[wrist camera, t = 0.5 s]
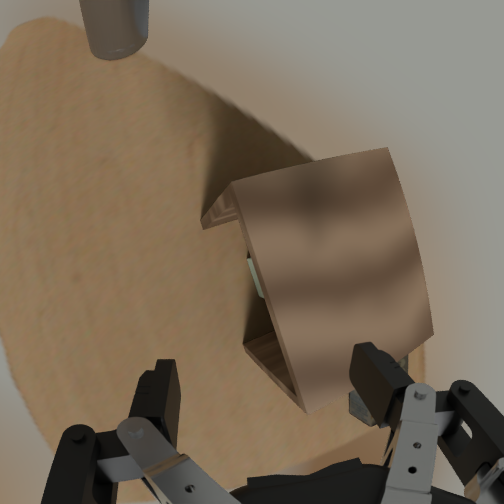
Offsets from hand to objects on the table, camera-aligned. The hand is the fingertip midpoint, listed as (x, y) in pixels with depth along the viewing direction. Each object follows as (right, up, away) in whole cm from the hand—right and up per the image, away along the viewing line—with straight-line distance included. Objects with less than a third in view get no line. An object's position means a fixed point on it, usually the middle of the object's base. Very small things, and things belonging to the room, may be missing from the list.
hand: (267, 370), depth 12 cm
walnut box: (+2, +3, +26) cm, 26 cm away
